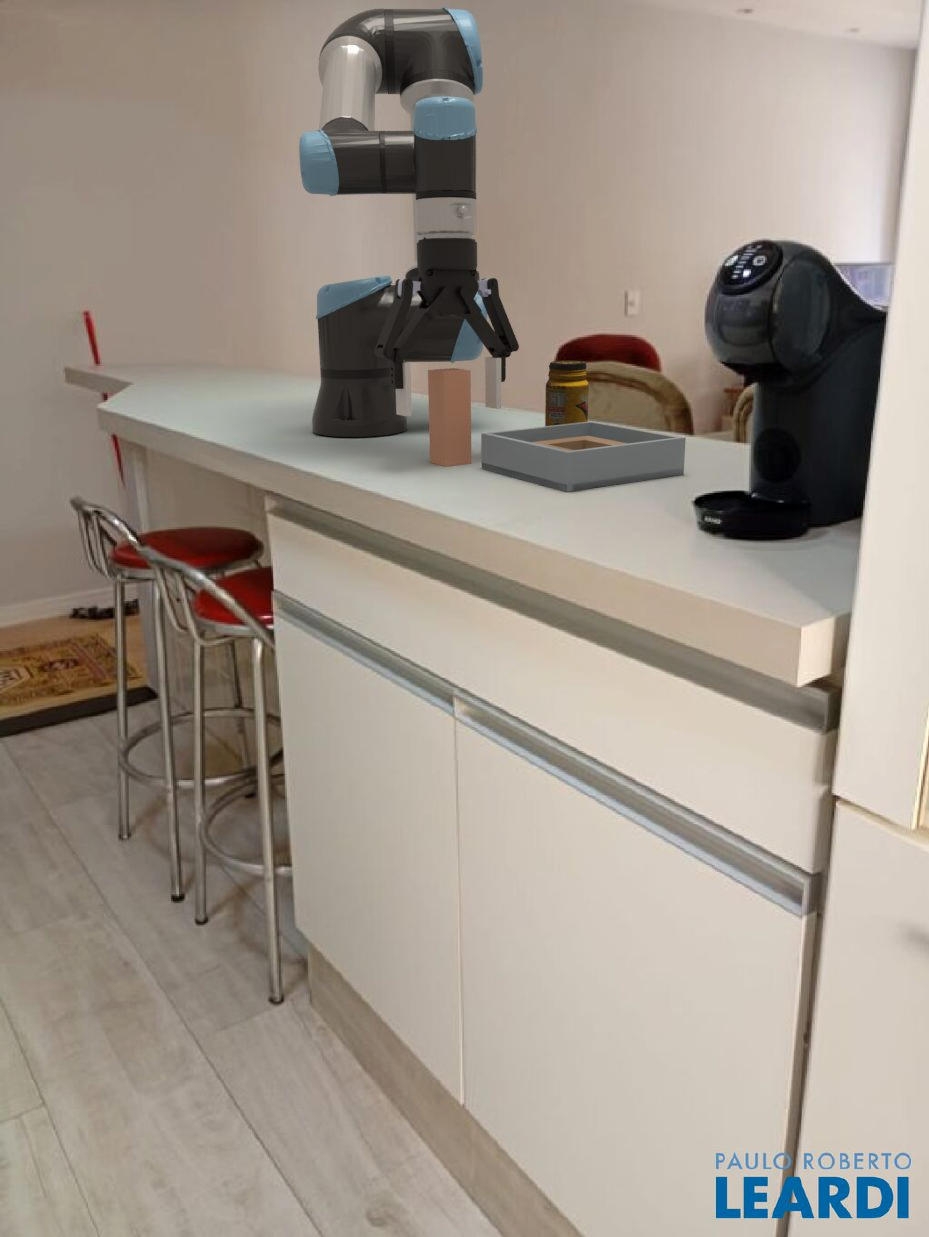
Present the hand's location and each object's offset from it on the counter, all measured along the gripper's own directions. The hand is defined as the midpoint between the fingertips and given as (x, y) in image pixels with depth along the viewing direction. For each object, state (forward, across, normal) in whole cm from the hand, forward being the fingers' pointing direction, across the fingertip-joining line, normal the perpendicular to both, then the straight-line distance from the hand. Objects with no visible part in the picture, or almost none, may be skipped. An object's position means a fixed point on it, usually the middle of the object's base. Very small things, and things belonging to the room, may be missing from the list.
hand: (449, 411), depth 131 cm
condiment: (+7, +19, +2) cm, 21 cm away
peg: (+7, 0, 0) cm, 7 cm away
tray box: (+7, +10, -14) cm, 19 cm away
